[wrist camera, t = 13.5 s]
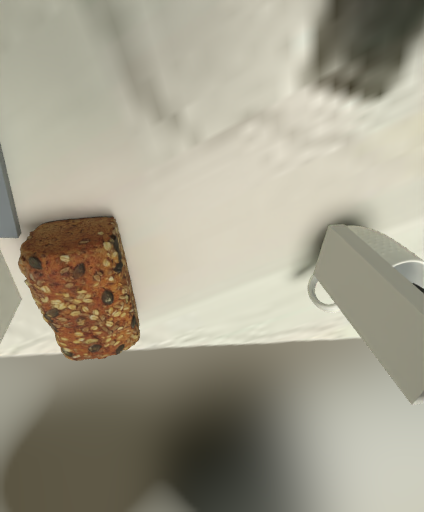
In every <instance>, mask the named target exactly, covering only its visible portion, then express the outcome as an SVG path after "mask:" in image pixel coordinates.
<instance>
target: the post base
mask: <svg viewBox="0 0 424 512" xmlns="http://www.w3.org/2000/svg"><path fill="white" fill-rule="evenodd" d="M20 234H21V230H20V226H19V221H18V217H17V213H16V208H15V204H14V200H13V196H12V191H11V187H10V183H9V178H8V174H7V170H6V166H5V161H4V157H3V153H2V149H1V144H0V238H18V237H19V236H20Z"/></svg>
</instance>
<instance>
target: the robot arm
mask: <svg viewBox="0 0 424 512" xmlns="http://www.w3.org/2000/svg"><path fill="white" fill-rule="evenodd" d="M313 274H314V276H315V277H316V278H317V280H318V281H319V282H320V284H321V285H322V286H323V288H324V289H325V290H326V292H327V293H328V294H329V296H330V297H331V298H332V300H333V301H334V302H335V304H336V305H337V306H338V308H339V309H340V310H341V312H342V313H343V314H344V316H345V317H346V318H347V320H348V321H349V322H350V323H351V325H352V326H353V327H354V329H355V330H356V331H357V333H358V334H359V335H360V337H361V338H362V339H363V341H364V342H365V343H366V345H367V346H368V347H369V348H370V350H371V351H372V353H373V354H374V355H375V357H376V358H377V359H378V361H379V362H380V363H381V365H382V366H383V367H384V368H385V370H386V371H387V373H388V374H389V375H390V376H391V378H392V379H393V380H394V382H395V383H396V384H397V386H398V387H399V388H400V389H401V391H402V392H403V394H404V395H405V396H406V398H407V399H408V400H409V402H410V403H411V404H412V405H415V404H419V403H424V288H422V287H420V286H418V285H417V284H415V283H411V282H410V281H409V280H408V279H406V278H405V277H404V276H403V275H402V274H401V273H400V272H398V271H397V270H396V269H395V268H394V267H393V266H392V265H390V264H389V263H388V262H387V261H386V260H385V259H384V258H382V257H381V256H380V255H379V254H378V253H377V252H375V251H374V250H373V249H372V248H371V247H370V246H369V245H367V244H366V243H365V242H364V241H363V240H362V239H361V238H359V237H358V236H357V235H356V234H355V233H354V232H353V231H351V230H350V229H349V228H348V227H347V226H346V225H344V224H339V225H328V229H327V232H326V235H325V238H324V241H323V244H322V248H321V251H320V254H319V257H318V260H317V264H316V267H315V270H314V273H313ZM21 300H22V298H21V296H20V294H19V291H18V289H17V287H16V285H15V282H14V280H13V278H12V275H11V273H10V271H9V269H8V266H7V264H6V262H5V259H4V257H3V255H2V253H1V250H0V343H1V341H2V339H3V337H4V335H5V333H6V331H7V329H8V327H9V325H10V323H11V320H12V318H13V316H14V314H15V312H16V310H17V308H18V306H19V304H20V302H21Z"/></svg>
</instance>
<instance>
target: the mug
mask: <svg viewBox="0 0 424 512" xmlns="http://www.w3.org/2000/svg"><path fill="white" fill-rule="evenodd" d="M347 227H348V228H349V229H350V230H351V231H353V232H354V233H355V234H356V235H357V236H358V237H359V238H361V239H362V240H363V241H364V242H365V243H366V244H367V245H369V246H370V247H371V248H372V249H373V250H374V251H375V252H377V253H378V254H379V255H380V256H381V257H382V258H384V259H385V260H386V261H387V262H388V263H389V264H390V265H392V266H393V267H394V268H395V269H396V270H397V271H398V272H400V273H401V274H402V275H403V276H404V277H405V278H406V279H408V280H409V281H410V282H411V283H415V284H417V285H418V286H420V287H422V288H424V261H423V260H422V259H420V258H419V257H418V256H416V255H415V254H414V253H412V252H411V251H409V250H408V249H407V248H406V247H404V246H402V245H401V244H399V243H398V242H396V241H395V240H394V239H392V238H390V237H388V236H387V235H385V234H382V233H380V232H378V231H375V230H373V229H369V228H366V227H362V226H347ZM322 244H323V243H322ZM321 248H322V246H321ZM317 282H318V280H317V278H316V277H315V276H314V274H313V275H312V276H311V278H310V280H309V283H308V294H309V297H310V299H311V300H312V302H313V303H314V304H315V305H316V306H317V307H318V308H320V309H321V310H324V311H326V312H339V311H341V310H340V309H339V308H338V306H337V305H336V304H335V303H334V304H331V305H328V304H324V303H322V302H320V301H319V300H318V299H317V297H316V295H315V286H316V283H317Z"/></svg>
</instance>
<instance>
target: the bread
mask: <svg viewBox="0 0 424 512" xmlns="http://www.w3.org/2000/svg"><path fill="white" fill-rule="evenodd" d="M20 251H21V256H20V258H19V262H18V265H19V268H20V270H21V272H22V273H23V274H24V275H25V277H26V278H27V279H26V280H25V283H26V285H28V287H29V288H30V290H31V293H32V297H33V299H34V300H35V301H36V302H35V303H36V305H37V306H38V308H39V309H40V310H41V313H42V314H43V319H44V320H45V321H46V322H47V323H48V324H49V326H51V328H52V329H53V330H54V332H55V337H56V341H57V343H58V345H59V346H60V347H61V352H62V353H63V354H64V355H65V357H66V358H68V359H71V360H76V361H78V360H83V359H94V358H98V359H102V358H106V357H107V356H111V355H117V354H119V353H121V352H122V350H127V349H129V348H130V347H131V346H133V345H135V343H136V342H137V341H138V340H139V338H140V330H139V319H138V313H137V308H136V302H135V298H134V294H133V291H132V285H131V280H130V276H129V272H128V268H127V262H126V258H125V253H124V250H123V246H122V242H121V237H120V234H119V231H118V225H117V223H116V220H115V219H114V217H111V218H108V217H94V218H82V219H68V220H60V221H53V222H48V223H44V224H42V225H40V226H39V227H37V228H36V229H35V230H34V231H33V232H30V236H28V237H27V240H26V241H25V242H24V243H23V244H22V245H21V248H20Z"/></svg>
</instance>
